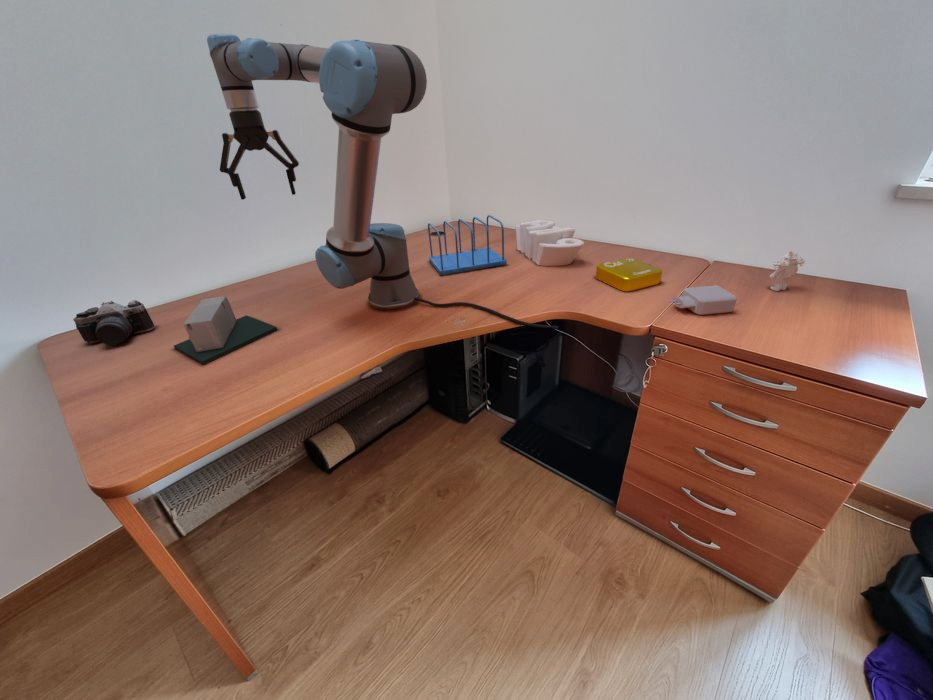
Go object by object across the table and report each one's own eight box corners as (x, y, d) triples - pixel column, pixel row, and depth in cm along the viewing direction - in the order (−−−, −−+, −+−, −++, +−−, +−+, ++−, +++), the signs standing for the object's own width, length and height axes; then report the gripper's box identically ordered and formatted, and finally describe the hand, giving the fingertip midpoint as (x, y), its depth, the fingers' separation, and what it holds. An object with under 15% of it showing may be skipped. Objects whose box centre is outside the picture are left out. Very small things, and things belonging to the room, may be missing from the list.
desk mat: (277, 330, 109) (276, 326, 109) (203, 365, 95) (202, 361, 95) (247, 318, 117) (246, 315, 116) (174, 348, 103) (173, 345, 102)
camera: (79, 356, 102) (56, 321, 97) (90, 339, 110) (69, 306, 104) (151, 340, 108) (134, 306, 102) (157, 325, 116) (140, 293, 110)
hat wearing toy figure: (771, 293, 114) (787, 252, 108) (760, 288, 117) (774, 248, 111) (797, 289, 116) (814, 248, 109) (785, 284, 119) (801, 245, 113)
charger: (659, 304, 112) (710, 299, 113) (678, 318, 104) (732, 313, 105) (663, 288, 109) (714, 283, 110) (682, 302, 101) (737, 297, 102)
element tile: (625, 293, 119) (628, 278, 117) (592, 277, 131) (594, 263, 128) (662, 283, 124) (666, 268, 122) (627, 269, 136) (630, 255, 133)
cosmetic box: (237, 320, 113) (227, 349, 100) (209, 325, 111) (196, 355, 98) (226, 293, 108) (214, 319, 95) (197, 298, 106) (181, 325, 94)
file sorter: (490, 252, 159) (489, 212, 151) (506, 265, 144) (507, 222, 136) (429, 261, 153) (425, 220, 145) (440, 276, 138) (436, 232, 130)
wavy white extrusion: (510, 244, 167) (510, 218, 161) (547, 239, 169) (548, 214, 164) (542, 271, 137) (544, 241, 132) (586, 266, 140) (589, 236, 135)
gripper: (295, 108, 109) (314, 190, 120) (195, 113, 104) (225, 198, 115) (293, 107, 103) (313, 194, 114) (186, 113, 97) (218, 203, 108)
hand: (269, 196), depth 114 cm, fingers open, 13 cm apart
